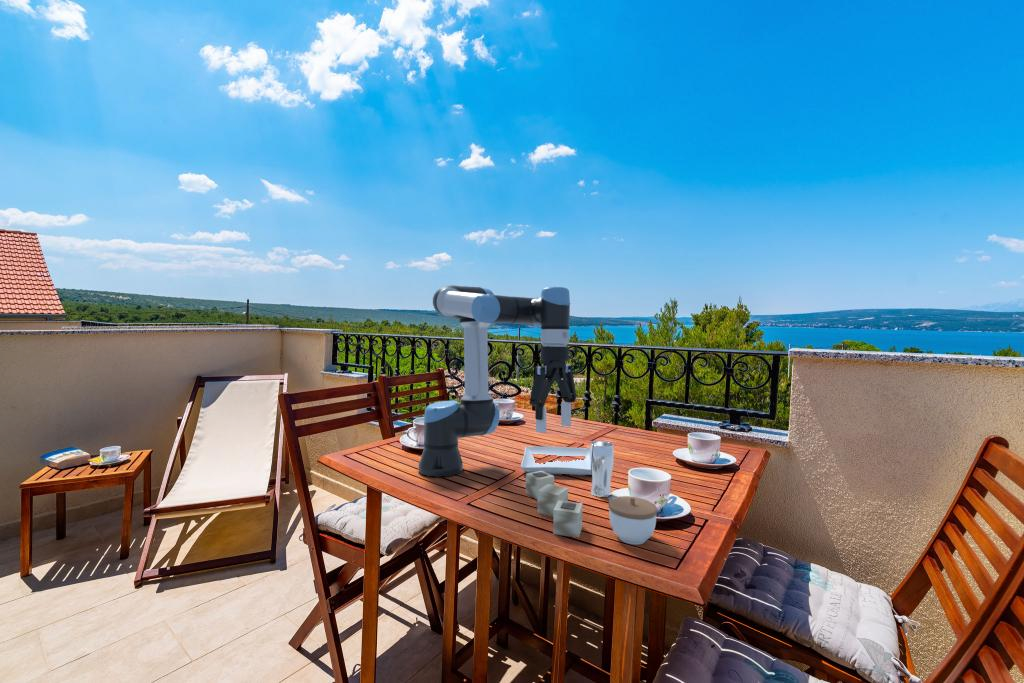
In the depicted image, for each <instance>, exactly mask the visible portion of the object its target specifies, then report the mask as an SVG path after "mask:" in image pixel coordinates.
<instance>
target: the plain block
mask: <svg viewBox="0 0 1024 683" xmlns="http://www.w3.org/2000/svg"><path fill="white" fill-rule="evenodd" d="M558 500H561V501H569V488H568V487H564V486H559V485H555V484H554V485H552V484H547V485H545V486H544V487H542V488H541V489H539V490H538V500H537V508H536V509H537V514H540V515H544V516H547V515H548V517H551V516H552V518H553V512H554V508H555V506H556V504H557V502H558Z"/></svg>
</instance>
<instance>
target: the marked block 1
mask: <svg viewBox="0 0 1024 683" xmlns="http://www.w3.org/2000/svg"><path fill="white" fill-rule="evenodd" d="M547 484H552V485H555V476H554V474H548V473H546V472H544V471H537V472H532V473H530V472H526V473H525V494H527V495H528V494H529V495H528V496H530V497H531V498H533V497H534V499H535V500H537V501H538V490H539V489H541V488H542V487H544V486H545V485H547Z"/></svg>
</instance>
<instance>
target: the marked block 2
mask: <svg viewBox="0 0 1024 683" xmlns="http://www.w3.org/2000/svg"><path fill="white" fill-rule="evenodd" d="M552 518H553V521H552V522H553V523H552V525H553V529H552V530H553V531H552V534H553V535H558V536H563V537H564V536H565V537H570V536H572V537H571V538H576V537H578V539H579V538H580V535H581V533H582V528H583V503H582V502H577V501H576V502H574V501H569V500H568V501H561V500H558V502H557V504H556V506H555V508H554V512H553V517H552Z"/></svg>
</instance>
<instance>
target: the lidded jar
mask: <svg viewBox="0 0 1024 683" xmlns="http://www.w3.org/2000/svg"><path fill="white" fill-rule="evenodd" d="M608 512H609V513H608V516H609V517H608V518H609V523H610V526H611V529H612V530H613V532H614V533H615V535H616V536H617V537H618V539H619V541H622V543H625V544H629V545H635V546H637V545H638V546H639V545H643V544H645V543H646V542H647V541H648V540H649V539H650V538H651V537H652V535H653V534H654V531H655V528H656V524H657V513H658V508H657V506H656V504H655V503H653V502H651V501H649V500H647V499H644V498H641V497H637V496H630V495H629V496H627V495H625V496H624V495H623V496H622V495H621V496H616V497H613V498H611V499H610V500H609V501H608Z"/></svg>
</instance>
